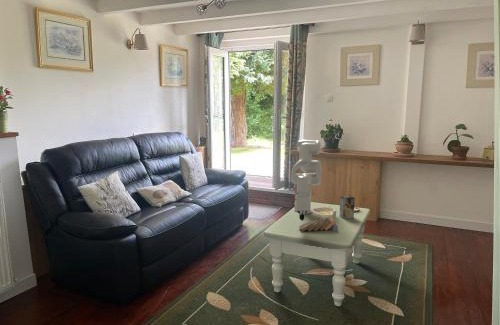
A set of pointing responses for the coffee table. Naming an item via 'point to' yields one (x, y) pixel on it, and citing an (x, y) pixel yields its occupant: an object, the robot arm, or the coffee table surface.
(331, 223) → the domino
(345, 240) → the coffee table surface
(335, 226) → the stop block
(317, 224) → the domino
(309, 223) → the domino
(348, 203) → the coffee box
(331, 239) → the coffee table surface
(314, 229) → the domino
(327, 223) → the domino
